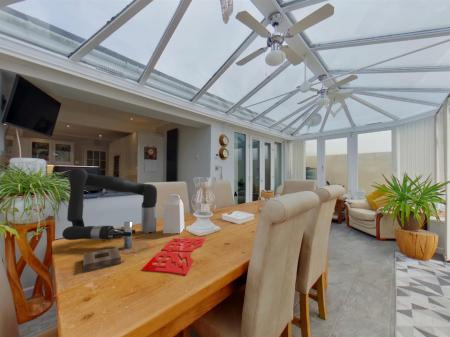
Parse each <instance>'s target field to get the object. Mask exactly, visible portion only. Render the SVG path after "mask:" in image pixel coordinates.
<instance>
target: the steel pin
mask: <svg viewBox="0 0 450 337" xmlns="http://www.w3.org/2000/svg"><path fill="white" fill-rule="evenodd" d="M123 227H124V232H131V236H124V237H123V250H124V249H125V250H126V249H127V250H128V249H131V248H132V247H133V234H132V230H133V221H131V220H128V221H124V223H123Z"/></svg>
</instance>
